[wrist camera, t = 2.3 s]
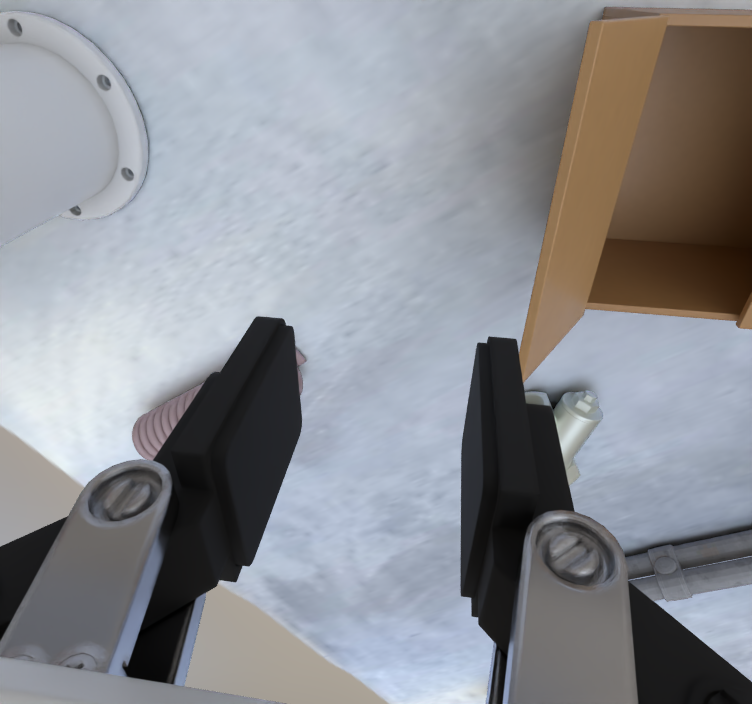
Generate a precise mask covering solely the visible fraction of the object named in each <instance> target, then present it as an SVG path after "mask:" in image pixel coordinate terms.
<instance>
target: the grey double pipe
mask: <svg viewBox="0 0 752 704" xmlns="http://www.w3.org/2000/svg"><path fill="white" fill-rule="evenodd" d="M748 556H752V530H747V531H743V532H738V533H733V534H729V535H724V536H719V537H715V538H710V539H705V540H701V541H696V542H691V543H686V544H682V545H677V546H672V545H671V544H670V545H665V546H660V547H656V548H653V549H648V553H643V554H639V555H634V556H630V557H625V560H626V563H627V574H628V580H630V579H635V578H640V577H645V576H650V575H655V576H651V577H646V578H641V579H636V580H631V581H629V582H631V583H632V584H633V585H634V586H635V587H637V588H638V589H639V590H640V591H641V592H643V593H644V594H645V595H646V596H648V597H649V598H650V599H651V600H652V601H655V600H661V599H665V600H666V601H667V602H668V601H676V600H682V599H687V598H692V595H693V594H699V593H704V592H710V591H716V590H721V589H727V588H733V587H738V586H744V585H749V584H752V557H748ZM743 557H748V558H743ZM738 558H742V559H738ZM733 559H737V560H733ZM728 560H732V561H728ZM723 561H727V562H723ZM718 562H722V563H718ZM713 563H716V564H713ZM708 564H711V565H708ZM703 565H706V566H703ZM698 566H701V567H698ZM692 567H696V568H692ZM687 568H690V569H687ZM683 569H685V570H683Z"/></svg>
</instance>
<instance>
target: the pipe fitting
mask: <svg viewBox="0 0 752 704" xmlns="http://www.w3.org/2000/svg"><path fill="white" fill-rule="evenodd" d="M525 399H526V403H528V404H538V405H548V406H551V403H550V401H549V399H548V396H547V394H546V393H543V392H535V391H533V392H525ZM596 399H597V396H596V394H595V393H593V392H592V391H589V390H587V391H585V392H576V393H575V392H567V393H565V394H564V395H563V396H562V398H561V399H560V401H559V402H558V404H557V405H556V407H555V408H554V410H553V408H552V406H551V408H552V410H553V413H554V417H555V422H556V427H557V431H558V436H559V441H560V446H561V450H562V455H563V460H564V465H565V469H566V474H567V479H568V483H569V486H570V485H571V484H572V483H573V482H575V481H576V480H577V478H578V477H579V476H580V473H579V470H578V467H577V464H576V462H575V459H574V457H575V455H576V454H577V452H578V451H579V450H580V448H581V447H582V446H583V444H584V443H585V442H586V440H587V439H588V438H589V436H590V435H591V434H592V432H593V431H594V429H595V428H596V427H597V425H598V424H599V423H600V421H601V420H602V419H603V413H602V411H601V409H600V408H599V403H598V401H597V400H596Z"/></svg>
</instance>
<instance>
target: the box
mask: <svg viewBox="0 0 752 704" xmlns="http://www.w3.org/2000/svg"><path fill="white" fill-rule="evenodd" d="M656 15H665V16H669V18H668V22H667V25H666V29H665V32H664V36H663V39H662V43H661V46H660V50H659V53H658V57H657V60H656V64H655V67H654V71H653V74H652V78H651V81H650V84H649V88H648V91H647V95H646V98H645V102H644V105H643V109H642V112H641V116H640V119H639V123H638V126H637V130H636V133H635V137H634V140H633V144H632V147H631V151H630V154H629V158H628V161H627V165H626V168H625V172H624V175H623V179H622V182H621V186H620V189H619V193H618V196H617V200H616V203H615V207H614V210H613V214H612V217H611V221H610V224H609V228H608V231H607V235H606V238H605V242H604V245H603V249H602V252H601V256H600V259H599V263H598V266H597V269H596V273H595V276H594V280H593V283H592V287H591V290H590V294H589V297H588V301H587V304H586V308H585V309H593V310H606V311H618V312H631V313H643V314H656V315H668V316H680V317H693V318H705V319H718V320H730V321H737V322H736V325H737V327H738V328H742V329H752V10H731V9H682V8H633V7H605V8H604V12H603V17H602V20H609V19H620V18H632V17H644V16H656Z"/></svg>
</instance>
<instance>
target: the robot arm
mask: <svg viewBox="0 0 752 704" xmlns="http://www.w3.org/2000/svg"><path fill="white" fill-rule="evenodd" d="M109 81H110V82H109ZM148 157H149V155H148V138H147V134H146V129H145V125H144V121H143V117H142V115H141V112H140V110H139V107H138V105H137V102H136V100H135V97H134V96H133V94H132V92H131V90H130V89H129V87H128V85H127V83H126V82H125V80H124V78H123V77H122V76H121V74H120V73H119V72H118V70H117V69H116V68H115V66H114V65H113V64H112V62H111V61H110V60H109V59H108V58H107V57H106V56H105V55H104V54H103V53H102V52H101V51H100V50H99V49H98V48H97V47H96V46H95V45H94V44H93V43H92V42H91V41H89V40H88V39H87V38H85V37H84V36H83V35H81V34H80V33H79V32H77V31H76V30H75V29H73V28H71V27H69V26H67V25H65V24H63V23H61V22H60V21H58V20H56V19H53V18H50V17H47V16H44V15H41V14H37V13H33V12H21V11H11V12H0V247H2V246H4V245H5V244H7V243H9V242H11V241H13V240H15V239H16V238H18V237H20V236H22V235H24V234H25V233H27V232H29V231H31V230H33V229H34V228H36V227H38V226H40V225H42V224H44V223H45V222H47V221H49V220H51V219H53V218H54V217H56V216H61V217H65V218H69V219H77V220H91V219H99V218H102V217H105V216H108V215H111V214H113V213H115V212H116V211H118V210H120V209H121V208H123V207H124V206H125V205H127V204H128V203H129V202H130V201H131V200H132V199H133V198H134V197H135V195H136V194H137V193H138V191H139V190H140V188H141V186H142V184H143V181H144V178H145V175H146V172H147V165H148ZM301 427H302V414H301V403H300V392H299V381H298V370H297V359H296V348H295V337H294V329H293V327H292V326H286V323H285V321H284V319H282V318H270V317H259V316H258V317H256V318H255V319H254V321H253V322H252V324H251V325H250V327H249V328H248V330H247V331H246V333H245V335H244V336H243V338H242V339H241V341H240V342H239V344H238V346H237V347H236V349H235V350H234V352H233V353H232V355H231V356H230V358H229V360H228V361H227V363H226V364H225V366H224V367H223V369H222V371H221V372H220V373H219V372H214V373H212V374H211V375H210V376H209V377H208V378H207V379H206V381H205V382H204V384H203V385H202V387H201V388H200V390H199V391H198V393H197V394H196V396H195V397H194V399H193V401H192V402H191V404H190V405H189V407H188V408H187V410H186V411H185V413H184V414H183V416H182V417H181V419H180V420H179V422H178V423H177V425H176V426H175V428H174V429H173V431H172V432H171V434H170V435H169V437H168V438H167V440H166V441H165V443H164V444H163V446H162V447H161V449H160V450H159V452H158V453H157V455H156V456H155V458H154V459H153V461H151V460H141V459H140V460H132V461H126V462H123V463H120V464H117V465H114V466H112V467H110V468H108V469H106V470H104V471H103V472H101V473H99V474H98V475H97V476H96V477H94V478H93V479H92V480H91V481H90V482H89V483H88V484H87V485H86V487H85V488H84V489H83V491H82V492H81V494H80V495H79V497H78V499H77V501H76V503H75V504H74V506H73V508H72V510H71V512H70V514H69V516H67V517H65V518H63V519H61V520H58V521H56V522H54V523H52V524H50V525H47V526H45V527H43V528H41V529H39V530H36V531H34V532H32V533H30V534H28V535H25V536H23V537H21V538H19V539H16V540H14V541H12V542H10V543H8V544H5V545H3V546H1V547H0V704H286V703H280V702H274V701H268V700H262V699H256V698H250V697H244V696H238V695H232V694H226V693H220V692H215V691H209V690H202V689H196V688H191V687H185V686H184V685H185V681H186V677H187V673H188V669H189V665H190V660H191V656H192V652H193V648H194V644H195V640H196V635H197V631H198V628H199V624H200V619H201V615H202V611H203V607H204V603H205V598H206V592H208V591H209V590H211V589H213V588H215V587H216V586H217V584H218V582H219V580H223V581H230V582H237V579H238V576H239V574H240V571H241V569H242V566H250V565H251V564H252V562H253V560H254V558H255V555H256V552H257V549H258V547H259V544H260V541H261V539H262V536H263V533H264V531H265V528H266V525H267V522H268V520H269V517H270V514H271V512H272V509H273V506H274V504H275V501H276V498H277V495H278V493H279V490H280V487H281V485H282V482H283V479H284V477H285V474H286V471H287V468H288V466H289V463H290V460H291V458H292V455H293V452H294V450H295V447H296V444H297V442H298V439H299V436H300V433H301ZM461 596H463V597H470V598H471V603H472V617H478V623H479V626H480V627H481V628H482V629H483V630H484V631H485V632H486V633H487V634H488V636H489V637H490V638H491V639H492V640H493V641H494V645H493V653H492V660H491V668H490V675H489V683H488V691H487V698H486V704H752V682H751V681H750V680H749V679H747V678H746V677H745V676H744V675H743V674H741V673H740V672H739V671H738V670H737V669H735V668H734V667H733V666H732V665H730V664H729V663H728V662H727V661H726V660H724V659H723V658H722V657H721V656H719V655H718V654H717V653H716V652H715V651H713V650H712V649H711V648H710V647H708V646H707V645H706V644H705V643H704V642H702V641H701V640H700V639H699V638H698V637H696V636H695V635H694V634H693V633H691V632H690V631H689V630H688V629H687V628H685V627H684V626H683V625H682V624H680V623H679V622H678V621H677V620H676V619H674V618H673V617H672V616H671V615H669V614H668V613H667V612H666V611H665V610H663V609H662V608H661V607H660V606H659V605H657V604H656V603H655V602H654V601H652V600H651V599H650V598H649V597H648V596H646V595H645V594H644V593H643V592H641V591H640V590H639V589H638V588H637V587H635V586H634V585H633V584H632V583H631V582H629V581H628V574H627V563H626V560H625V556H624V552H623V550H622V548H621V546H620V545H619V543H618V541H617V540H616V538H615V537H614V536H613V535H612V534H611V533H610V532H609V531H608V530H607V529H606V528H605V527H604V526H603V525H601V524H599V523H598V522H596V521H595V520H593V519H592V518H590V517H587V516H585V515H582V514H579V513H577V512H574V507H573V502H572V498H571V493H570V488H569V483H568V479H567V474H566V469H565V465H564V460H563V455H562V450H561V446H560V441H559V436H558V431H557V427H556V422H555V417H554V413H553V410H552V408H551V406H548V405H538V404H528V403H526V399H525V392H524V385H523V379H522V372H521V365H520V359H519V352H518V345H517V340H516V339H510V338H499V337H488V340H487V343H477V348H476V354H475V361H474V367H473V374H472V380H471V387H470V393H469V399H468V406H467V412H466V419H465V425H464V432H463V439H462V453H461Z"/></svg>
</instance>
